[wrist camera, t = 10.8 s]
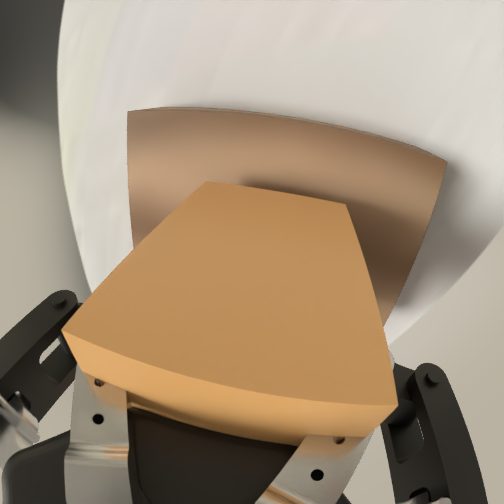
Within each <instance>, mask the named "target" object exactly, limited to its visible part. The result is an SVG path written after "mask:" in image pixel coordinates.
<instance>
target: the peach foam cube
mask: <svg viewBox="0 0 504 504" xmlns="http://www.w3.org/2000/svg"><path fill="white" fill-rule="evenodd" d="M61 331H62V333H63V335H64V337H65V339H66V341H67V343H68V345H69V347H70V349H71V351H72V353H73V355H74V357H75V359H76V361H77V363H78V365H79V367H80V368H81V370H82V371H83V372H85V373H87V374H89V375H91V376H94V377H96V378H97V379H98V381H99V383H100V385H101V386H103V385H104V384H105V382H107V383H109V384H112V385H114V386H117V387H119V388H122V389H124V390H126V391H127V393H128V395H129V397H130V399H131V402H132V407H136V408H140V409H143V410H146V411H149V412H151V413H154V414H157V415H160V416H163V417H166V418H169V419H172V420H176V421H179V422H182V423H186V424H189V425H193V426H196V427H200V428H204V429H208V430H212V431H216V432H220V433H224V434H229V435H234V436H238V437H244V438H249V439H254V440H260V441H267V442H273V443H280V444H288V445H293V446H299V445H300V444H301V442H302V441H303V440H304V438H305V437H306V436H307V434H313V435H326V436H334V437H333V440H334V442H335V443H336V444H337V443H338V442H339V441H341V440H342V439H343V438H344V437H367V436H368V435H369V434H370V433H371V432H372V431H373V430H375V428H377V427H378V426H379V425H380V424H381V423H382V422H383V421H384V420H385V419H386V418H387V417H388V416H389V415H390V414H391V413H392V412H393V411H394V410H395V409H396V408H397V406H398V400H397V394H396V388H395V382H394V376H393V371H392V366H391V361H390V356H389V351H388V346H387V342H386V337H385V333H384V329H383V325H382V320H381V316H380V312H379V309H378V305H377V301H376V297H375V294H374V290H373V286H372V283H371V280H370V276H369V273H368V269H367V266H366V263H365V260H364V256H363V253H362V250H361V247H360V244H359V241H358V238H357V235H356V232H355V229H354V226H353V223H352V221H351V218H350V215H349V212H348V210H347V207H346V204H342V203H337V202H332V201H327V200H322V199H317V198H312V197H307V196H301V195H296V194H290V193H284V192H278V191H272V190H266V189H260V188H253V187H247V186H240V185H233V184H226V183H218V182H211V181H206V182H205V183H204V184H202V185H201V186H200V187H199V188H198V189H197V190H196V191H194V192H193V193H192V194H191V195H190V196H189V197H188V198H187V199H186V200H184V201H183V202H182V203H181V204H180V205H179V206H178V207H177V208H176V209H175V210H174V211H173V212H171V213H170V214H169V215H168V216H167V217H166V218H165V219H164V220H163V221H162V222H161V223H160V224H159V225H158V226H157V227H156V228H155V229H154V230H153V231H152V232H150V233H149V234H148V235H147V236H146V237H145V238H144V239H143V240H142V241H141V242H140V243H139V244H138V245H137V246H136V247H135V248H134V249H133V250H132V251H131V252H130V253H129V254H128V256H127V257H126V258H125V259H124V260H123V261H122V262H121V263H120V264H119V265H118V266H117V267H116V268H115V269H114V270H113V271H112V272H111V273H110V274H109V275H108V277H107V278H106V279H105V280H104V281H103V282H102V283H101V284H100V285H99V286H98V287H97V289H96V290H95V291H94V292H93V293H92V294H91V295H90V296H89V298H88V299H87V300H86V301H85V302H84V303H83V304H82V306H81V307H80V308H79V309H78V310H77V311H76V312H75V314H74V315H73V316H72V317H71V318H70V320H69V321H68V322H67V323H66V324H65V326H64V327H63V328H62V329H61Z"/></svg>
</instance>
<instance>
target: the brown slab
mask: <svg viewBox="0 0 504 504" xmlns="http://www.w3.org/2000/svg"><path fill="white" fill-rule="evenodd" d="M127 164H128V188H129V204H130V217H131V228H132V238H133V247H134V248H135V247H136V246H137V245H138V244H139V243H140V242H141V241H142V240H143V239H144V238H145V237H146V236H147V235H148V234H149V233H150V232H152V231H153V230H154V229H155V228H156V227H157V226H158V225H159V224H160V223H161V222H162V221H163V220H164V219H165V218H166V217H167V216H168V215H169V214H170V213H171V212H173V211H174V210H175V209H176V208H177V207H178V206H179V205H180V204H181V203H182V202H183V201H184V200H186V199H187V198H188V197H189V196H190V195H191V194H192V193H193V192H194V191H196V190H197V189H198V188H199V187H200V186H201V185H202V184H204V183H205V182H206V181H211V182H218V183H226V184H233V185H240V186H247V187H253V188H260V189H266V190H272V191H278V192H284V193H290V194H296V195H301V196H307V197H312V198H317V199H322V200H327V201H332V202H337V203H342V204H346V207H347V210H348V212H349V215H350V218H351V221H352V223H353V226H354V229H355V232H356V235H357V238H358V241H359V244H360V247H361V250H362V253H363V256H364V260H365V263H366V266H367V269H368V273H369V276H370V280H371V283H372V286H373V290H374V294H375V297H376V301H377V305H378V309H379V312H380V316H381V320H382V325H383V327H384V325H385V323H386V321H387V319H388V317H389V315H390V313H391V311H392V309H393V307H394V305H395V303H396V301H397V299H398V297H399V295H400V293H401V291H402V288H403V286H404V284H405V282H406V280H407V277H408V275H409V273H410V270H411V268H412V266H413V263H414V261H415V259H416V256H417V254H418V251H419V249H420V246H421V243H422V241H423V238H424V235H425V233H426V230H427V227H428V224H429V222H430V219H431V216H432V213H433V210H434V207H435V204H436V200H437V197H438V194H439V191H440V187H441V184H442V180H443V176H444V173H445V169H446V165H447V162H446V161H444V160H442V159H440V158H439V157H437V156H435V155H433V154H430V153H428V152H426V151H424V150H422V149H420V148H418V147H415V146H412V145H408V144H405V143H402V142H399V141H396V140H392V139H389V138H385V137H382V136H378V135H374V134H371V133H367V132H363V131H359V130H355V129H350V128H346V127H342V126H337V125H332V124H328V123H323V122H317V121H312V120H306V119H301V118H295V117H288V116H281V115H274V114H267V113H258V112H249V111H239V110H227V109H212V108H189V107H159V108H151V109H143V110H135V111H128V115H127Z"/></svg>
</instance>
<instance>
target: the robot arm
mask: <svg viewBox="0 0 504 504" xmlns="http://www.w3.org/2000/svg"><path fill="white" fill-rule="evenodd" d="M82 304H83V303H78V300H77V297H76V295H75V294H74V293H73V292H72V291H69V290H60V291H57V292H55V293H53V294H51V295H50V296H49V297H47V298H46V299H45V300H44V301H43V302H41V303H40V304H39V305H38V306H37V307H36V308H34V309H33V310H32V311H31V312H30V313H29V314H27V315H26V316H25V317H24V318H23V319H22V320H21V321H20V322H18V323H17V324H16V325H15V326H14V327H13V328H12V329H11V330H10V331H9V332H8V333H7V334H5V336H4V337H2V338H1V339H0V467H1V468H2V469H3V473H2V491H3V504H351V503H350V501H349V500H348V499H347V497H346V496H345V495H344V494H343V491H344V489H345V487H346V485H347V484H348V482H349V480H350V478H351V477H352V475H353V473H354V471H355V469H356V467H357V465H358V464H359V462H360V460H361V458H362V455H363V453H364V452H365V450H366V447H367V445H368V443H369V441H370V439H371V437H372V435H373V432H374V430H373V431H372V432H371V433H370V434H369V435H368V436H367V437H344V438H343V439H342V440H341V441H339V442H338V443H337V444H336V443H335V442H334V440H333V437H334V436H326V435H313V434H307V436H306V437H305V438H304V440H303V441H302V442H301V444H300V445H299V446H293V445H288V444H280V443H273V442H267V441H260V440H254V439H249V438H244V437H238V436H234V435H229V434H224V433H220V432H216V431H212V430H208V429H204V428H200V427H196V426H193V425H189V424H186V423H182V422H179V421H176V420H172V419H169V418H166V417H163V416H160V415H157V414H154V413H151V412H149V411H146V410H143V409H140V408H136V407H132V402H131V399H130V397H129V395H128V393H127V391H126V390H124V389H122V388H119V387H117V386H114V385H112V384H109V383H107V382H105V384H104V385H103V386H101V385H100V383H99V381H98V379H97V378H96V377H94V376H91V375H89V374H87V373H85V372H83V371H82V370H81V368H80V367H79V365H78V363H77V361H76V359H75V357H74V355H73V353H72V351H71V349H70V347H69V345H68V343H67V341H66V339H65V337H64V335H63V333H62V331H61V329H62V328H63V327H64V326H65V324H66V323H67V322H68V321H69V320H70V318H71V317H72V316H73V315H74V314H75V312H76V311H77V310H78V309H79V308H80V307H81V306H82ZM56 338H58V339H59V341H60V345H59V346H58V347H57V348H56V349H55V350H54V351H53V352H52V353H51V354H50V355H49V356H48V357H47V358H46V359H45V360H44V361H43V362H42V363H41V364H40V363H39V359H40V356H41V354H42V353H43V351H44V350H46V349H47V348H48V346H50V345H51V343H52V342H54V341H55V339H56ZM388 351H389V350H388ZM389 356H390V361H391V366H392V371H393V376H394V382H395V388H396V394H397V400H398V406H397V408H396V409H395V410H394V411H393V412H392V413H391V414H390V415H389V416H388V417H387V418H386V419H385V420H384V421H383V422H382V423H381V424H380V426H381V430H382V435H383V439H384V443H385V448H386V453H387V458H388V463H389V468H390V474H391V479H392V485H393V491H394V497H395V503H396V504H488V502H487V497H486V492H485V488H484V483H483V479H482V475H481V472H480V468H479V464H478V461H477V457H476V454H475V451H474V447H473V444H472V441H471V438H470V435H469V432H468V429H467V427H466V424H465V421H464V418H463V416H462V413H461V410H460V407H459V405H458V402H457V400H456V397H455V395H454V393H453V390H452V388H451V385H450V383H449V381H448V378H447V376H446V374H445V373H444V371H443V370H442V369H441V368H439V367H438V366H436V365H434V364H431V363H423V364H421V365H419V366H418V367H417V369H416V370H415V371H414V370H412V369H409V368H406V367H403V366H401V365H398V364H396V363H395V362H394V358H393V355H392V354H391V352H390V351H389ZM74 380H75V382H74V392H73V401H72V413H71V430H69V431H67V432H64V433H62V434H60V435H57V436H55V437H52V438H50V439H47V440H45V441H43V442H40V443H37V444H35V445H33V443H35V442H38V441H39V438H40V434H39V432H38V423H39V422H40V420H41V419H42V418H43V417H44V415H45V414H46V413H47V412H48V411H49V409H50V408H51V407H52V406H53V405H54V403H55V402H56V401H57V400H58V399H59V397H60V396H61V395H62V394H63V392H64V391H65V390H66V389H67V388H68V387H69V386H70V384H71V383H72V382H73V381H74ZM418 421H419V422H418ZM419 424H420V426H419ZM420 427H421V429H420ZM421 431H422V433H421ZM422 434H423V436H422ZM423 438H424V440H423Z"/></svg>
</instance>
